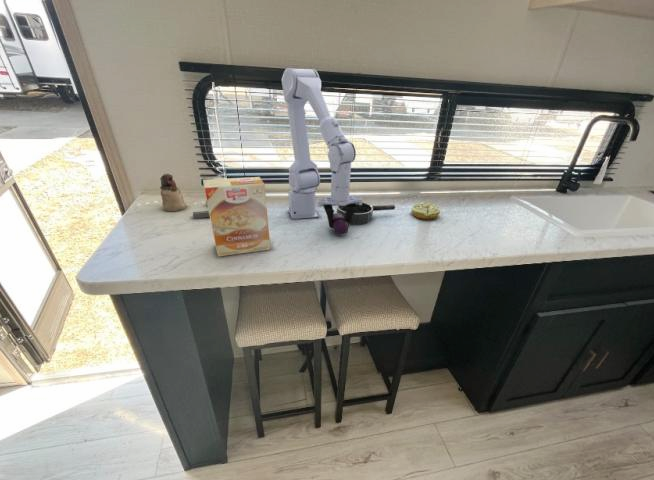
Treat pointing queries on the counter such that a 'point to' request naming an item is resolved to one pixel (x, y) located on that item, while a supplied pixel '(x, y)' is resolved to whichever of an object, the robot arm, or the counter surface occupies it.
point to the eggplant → (340, 224)
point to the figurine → (171, 194)
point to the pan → (358, 213)
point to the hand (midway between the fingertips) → (338, 226)
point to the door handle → (201, 214)
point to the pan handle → (383, 207)
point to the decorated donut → (425, 210)
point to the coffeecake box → (238, 214)
